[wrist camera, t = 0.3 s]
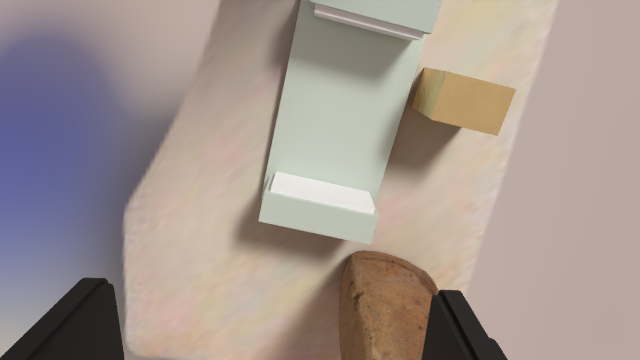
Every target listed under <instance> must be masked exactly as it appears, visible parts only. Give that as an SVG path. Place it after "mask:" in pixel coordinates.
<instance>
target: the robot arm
mask: <svg viewBox="0 0 640 360" xmlns="http://www.w3.org/2000/svg"><path fill="white" fill-rule="evenodd" d="M0 360H124V352H123V345H122V338H121V332H120V326H119V318H118V312H117V305H116V299H115V292H114V287H113V285H112V284H109V283H108V281H107V280H106V279H105V278H83V279H81V280H80V281H79V282H78V283H77V284H76V285H75V286H74V287H73V288H72V289H71V290H70V291H69V292H68V293H67V294H66V295H65V296H63V297H62V298H61V299H60V300H59V301H58V302H57V303H56V304H55V305H54V306H53V307H52V308H51V309H50V310H49V311H48V312H47V313H46V314H45V315H44V316H43V317H42V318H41V319H40V320H39V321H38V322H37V323H36V324H35V325H34V326H32V327H31V329H29V330H28V331H27V332H26V333H25V334H24V335H23V336H22V337H21V338H20V339H19V340H18V341H17V342H16V343H15V344H14V345H13V346H12V347H11V348H10V349H9V350H8V351H7V352H6V353H5V354H4V355H3V356H2V357H1V358H0ZM421 360H507V358H506V357H505V355H504V353H503V351H502V350H501V348H500V347H499V345H498V344H497V342H496V341H495V340H494V339H492V338H489V337H488V336H487V334H486V332H485V330H484V329H483V327H482V326H481V324H480V322H479V321H478V319H477V317H476V316H475V314H474V313H473V311H472V309H471V307H470V306H469V304H468V302H467V301H466V299H465V297H464V296H463V294H462V293H461V291H459V290H440V291H439V292H438V295H433V296H432V299H431V305H430V311H429V317H428V323H427V329H426V335H425V341H424V347H423V353H422V359H421Z"/></svg>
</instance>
